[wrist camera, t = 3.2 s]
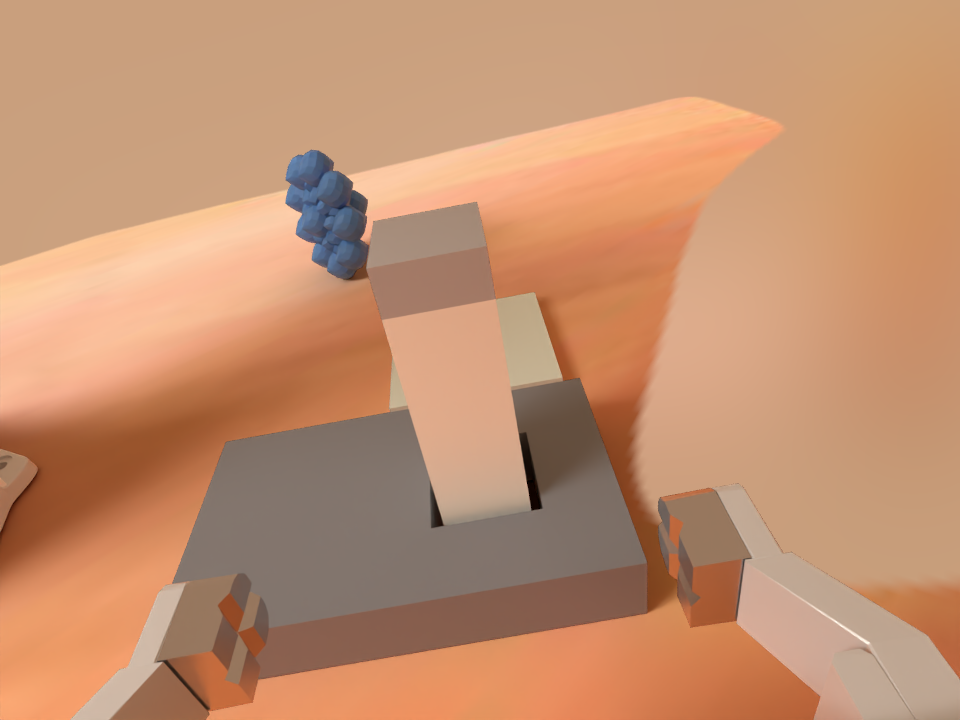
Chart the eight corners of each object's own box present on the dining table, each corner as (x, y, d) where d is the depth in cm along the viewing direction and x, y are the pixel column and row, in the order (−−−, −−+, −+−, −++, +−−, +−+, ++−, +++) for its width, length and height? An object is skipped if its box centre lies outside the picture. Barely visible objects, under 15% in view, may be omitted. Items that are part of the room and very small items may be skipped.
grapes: (418, 275, 54) (385, 140, 47) (355, 308, 51) (309, 169, 44) (354, 244, 62) (317, 125, 55) (296, 271, 59) (249, 148, 52)
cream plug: (456, 565, 29) (366, 268, 20) (452, 501, 32) (373, 221, 23) (538, 550, 29) (486, 246, 20) (526, 488, 32) (477, 201, 23)
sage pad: (393, 420, 38) (389, 408, 38) (397, 328, 47) (394, 317, 47) (563, 389, 38) (562, 377, 37) (536, 303, 47) (534, 292, 46)
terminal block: (186, 691, 26) (147, 649, 24) (249, 484, 36) (226, 441, 34) (647, 613, 25) (647, 562, 23) (583, 424, 35) (579, 378, 33)
